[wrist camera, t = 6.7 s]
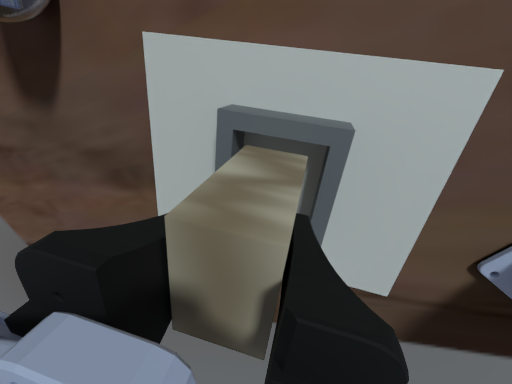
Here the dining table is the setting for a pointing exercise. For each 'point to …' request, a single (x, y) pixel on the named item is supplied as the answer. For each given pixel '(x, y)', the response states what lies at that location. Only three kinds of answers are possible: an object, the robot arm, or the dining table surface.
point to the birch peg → (234, 249)
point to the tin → (21, 10)
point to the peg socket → (318, 135)
